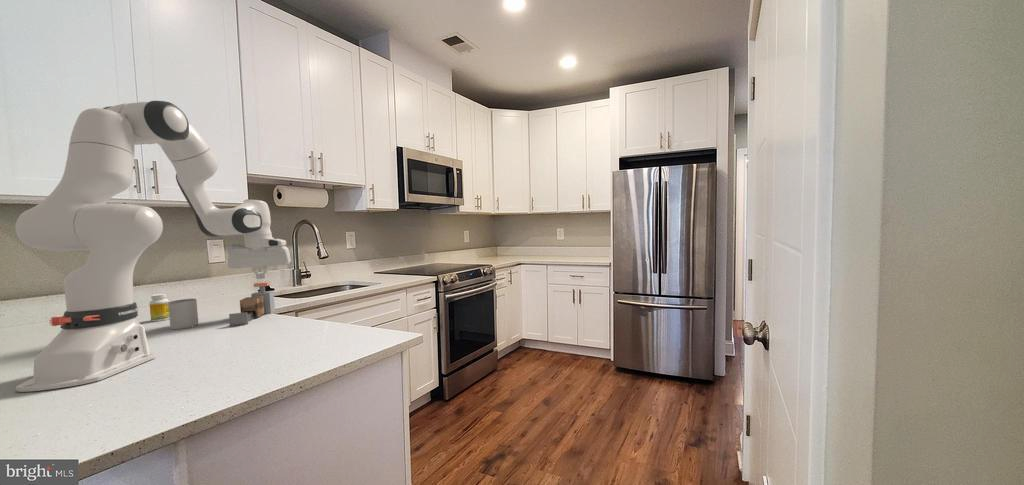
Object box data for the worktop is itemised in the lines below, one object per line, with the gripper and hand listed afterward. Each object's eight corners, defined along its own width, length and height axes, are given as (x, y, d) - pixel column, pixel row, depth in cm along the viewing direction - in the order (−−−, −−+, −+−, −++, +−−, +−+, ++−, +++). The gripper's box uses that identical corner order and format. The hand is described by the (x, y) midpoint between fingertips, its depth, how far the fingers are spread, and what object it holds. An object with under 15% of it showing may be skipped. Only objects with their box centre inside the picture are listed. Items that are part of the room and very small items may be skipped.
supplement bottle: (151, 320, 140) (149, 294, 139) (171, 317, 143) (168, 292, 143) (150, 322, 136) (147, 296, 135) (170, 319, 139) (167, 294, 139)
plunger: (267, 296, 143) (266, 282, 142) (254, 297, 141) (253, 283, 141) (270, 295, 146) (269, 281, 145) (257, 296, 145) (256, 282, 144)
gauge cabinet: (270, 313, 143) (269, 292, 142) (252, 315, 141) (251, 294, 141) (274, 310, 147) (273, 290, 146) (257, 312, 145) (255, 292, 145)
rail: (247, 324, 126) (246, 312, 126) (230, 326, 125) (229, 314, 125) (264, 314, 142) (263, 303, 141) (249, 315, 140) (248, 305, 140)
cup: (171, 331, 122) (168, 303, 122) (169, 326, 129) (166, 300, 129) (199, 326, 127) (197, 300, 127) (196, 321, 134) (194, 297, 134)
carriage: (258, 317, 135) (257, 298, 135) (241, 318, 134) (239, 300, 134) (264, 313, 141) (263, 296, 141) (248, 315, 140) (246, 297, 139)
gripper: (222, 244, 137) (226, 281, 138) (285, 241, 142) (288, 277, 143) (230, 243, 143) (233, 279, 144) (290, 240, 148) (293, 275, 149)
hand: (261, 278), depth 143 cm, fingers closed
